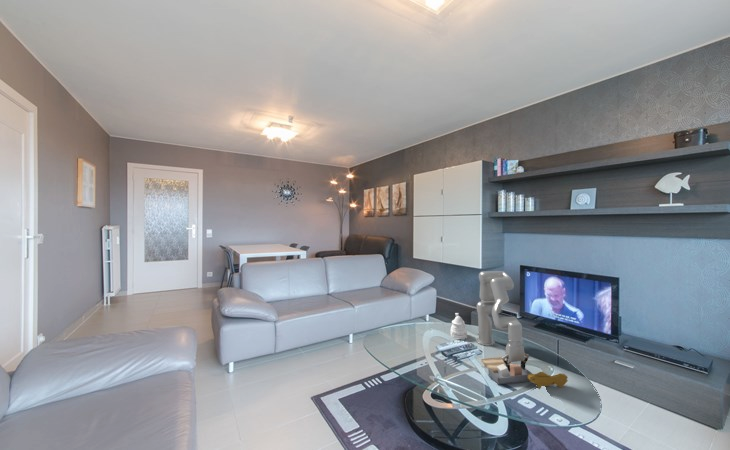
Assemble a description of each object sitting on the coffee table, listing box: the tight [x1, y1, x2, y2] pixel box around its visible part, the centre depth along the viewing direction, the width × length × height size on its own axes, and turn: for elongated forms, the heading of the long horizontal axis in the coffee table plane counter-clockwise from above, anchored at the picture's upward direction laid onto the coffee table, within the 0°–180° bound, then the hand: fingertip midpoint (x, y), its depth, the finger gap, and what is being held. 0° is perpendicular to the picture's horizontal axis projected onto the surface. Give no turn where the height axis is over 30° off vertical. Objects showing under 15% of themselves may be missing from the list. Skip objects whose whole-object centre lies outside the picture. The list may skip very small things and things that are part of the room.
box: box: [487, 364, 533, 386], centre depth 176 cm, size 11×22×4 cm, turn 96°
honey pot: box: [450, 312, 468, 340], centre depth 235 cm, size 13×13×18 cm
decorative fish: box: [528, 371, 569, 390], centre depth 166 cm, size 22×3×10 cm, turn 93°
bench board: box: [480, 356, 513, 373], centre depth 189 cm, size 14×16×2 cm
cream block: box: [497, 364, 510, 377], centre depth 176 cm, size 4×4×6 cm
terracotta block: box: [510, 363, 522, 376], centre depth 177 cm, size 4×4×6 cm
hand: (515, 369), depth 177 cm, fingers open, 9 cm apart
